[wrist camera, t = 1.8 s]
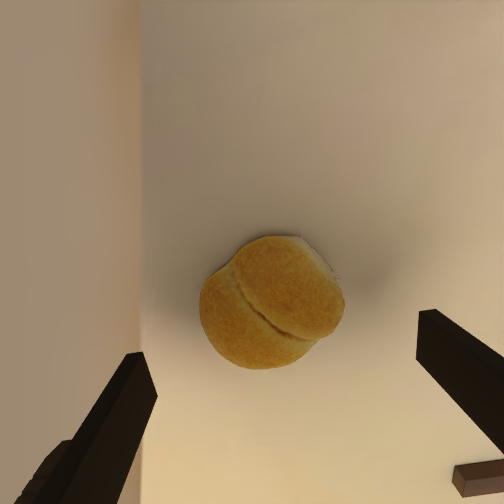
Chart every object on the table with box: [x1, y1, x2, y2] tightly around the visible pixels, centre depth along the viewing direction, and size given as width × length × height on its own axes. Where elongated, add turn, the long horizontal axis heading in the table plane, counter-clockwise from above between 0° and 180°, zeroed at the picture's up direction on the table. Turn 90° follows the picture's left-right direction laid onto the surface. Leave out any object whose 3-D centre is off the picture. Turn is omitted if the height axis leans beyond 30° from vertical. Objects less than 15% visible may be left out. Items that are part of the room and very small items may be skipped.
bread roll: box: [200, 236, 345, 369], centre depth 15 cm, size 8×9×4 cm
